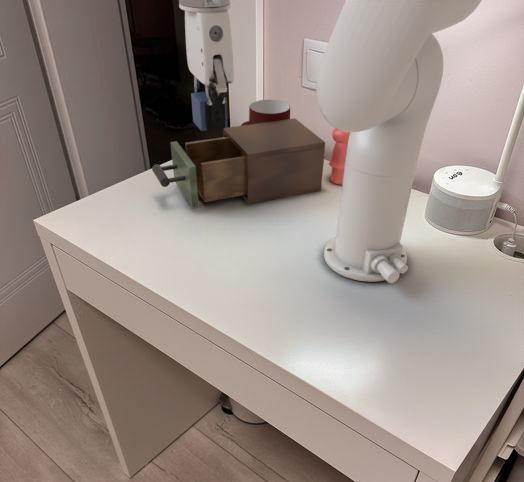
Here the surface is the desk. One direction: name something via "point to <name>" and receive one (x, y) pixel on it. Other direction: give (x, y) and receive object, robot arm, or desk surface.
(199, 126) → the block
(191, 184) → the drawer
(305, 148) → the cabinet
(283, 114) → the mug
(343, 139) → the figurine
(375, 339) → the desk surface
